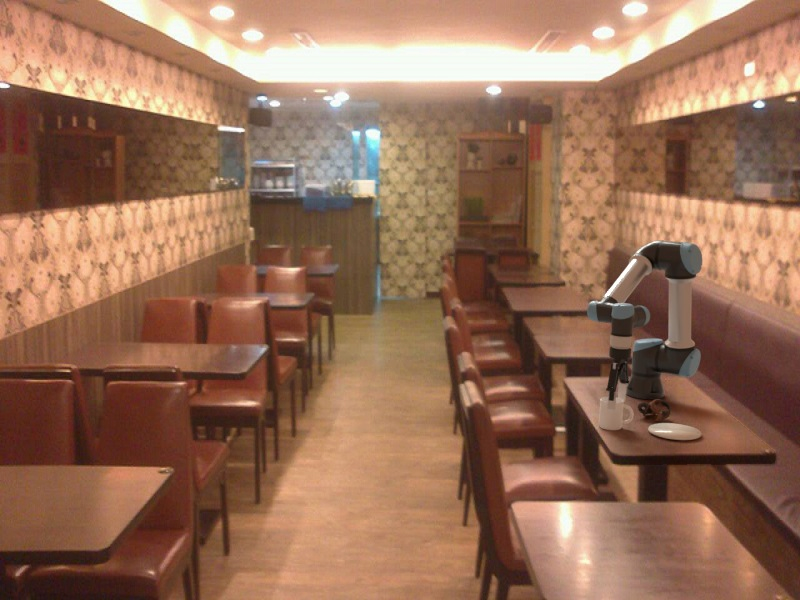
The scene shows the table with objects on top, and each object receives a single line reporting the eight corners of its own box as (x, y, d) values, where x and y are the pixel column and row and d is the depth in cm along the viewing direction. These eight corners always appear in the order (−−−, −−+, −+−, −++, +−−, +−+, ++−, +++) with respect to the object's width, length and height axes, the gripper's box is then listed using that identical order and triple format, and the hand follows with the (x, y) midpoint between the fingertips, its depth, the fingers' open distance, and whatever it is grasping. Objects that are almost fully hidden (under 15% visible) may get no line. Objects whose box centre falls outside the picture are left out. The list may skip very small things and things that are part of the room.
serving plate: (654, 423, 340) (654, 420, 340) (705, 431, 332) (705, 428, 332) (642, 436, 324) (643, 433, 324) (695, 444, 316) (695, 441, 316)
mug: (632, 426, 336) (634, 398, 335) (632, 432, 328) (634, 404, 327) (599, 423, 339) (600, 395, 338) (598, 429, 331) (599, 401, 330)
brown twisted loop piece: (661, 415, 353) (671, 400, 348) (665, 432, 345) (675, 417, 340) (632, 407, 352) (641, 391, 347) (635, 424, 344) (644, 408, 339)
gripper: (619, 340, 342) (615, 396, 345) (600, 351, 320) (596, 411, 323) (639, 342, 338) (635, 399, 341) (621, 354, 316) (617, 414, 319)
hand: (616, 405), depth 332 cm, fingers open, 13 cm apart
